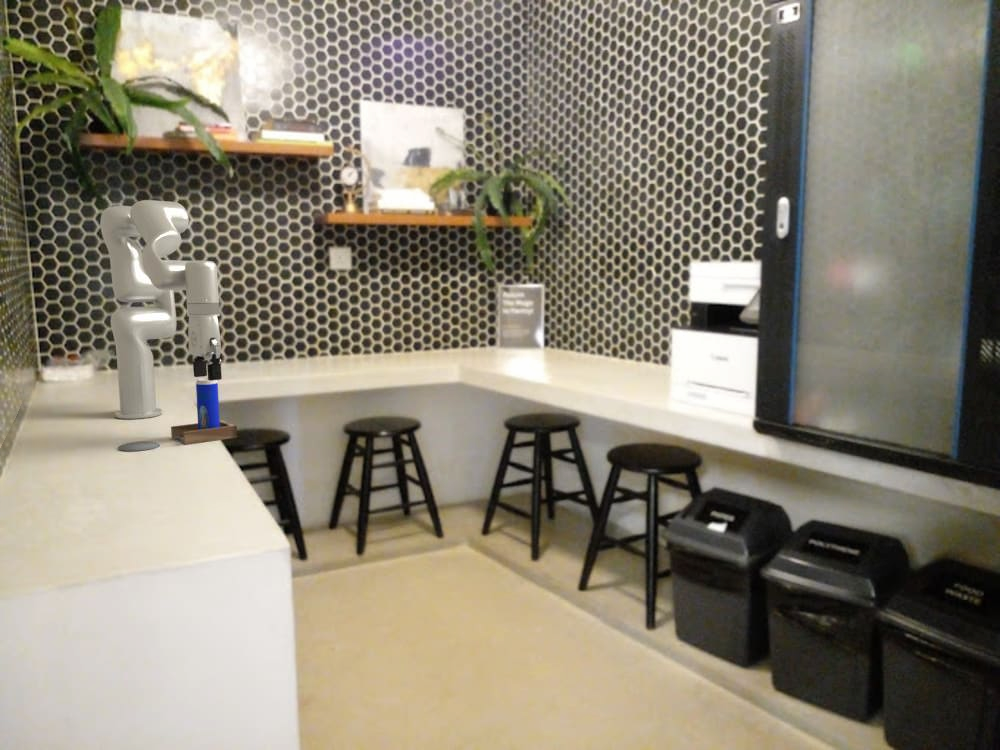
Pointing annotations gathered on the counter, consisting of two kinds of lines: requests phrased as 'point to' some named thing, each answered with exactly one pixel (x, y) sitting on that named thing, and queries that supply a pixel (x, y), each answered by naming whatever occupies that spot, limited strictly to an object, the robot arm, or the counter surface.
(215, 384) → the beverage can
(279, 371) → the counter surface
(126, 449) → the pad
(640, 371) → the counter surface
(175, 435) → the brown hollow open frame
